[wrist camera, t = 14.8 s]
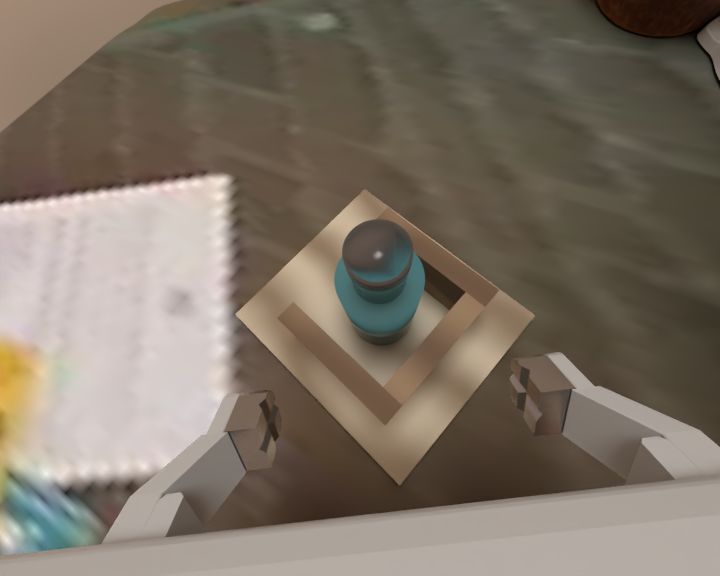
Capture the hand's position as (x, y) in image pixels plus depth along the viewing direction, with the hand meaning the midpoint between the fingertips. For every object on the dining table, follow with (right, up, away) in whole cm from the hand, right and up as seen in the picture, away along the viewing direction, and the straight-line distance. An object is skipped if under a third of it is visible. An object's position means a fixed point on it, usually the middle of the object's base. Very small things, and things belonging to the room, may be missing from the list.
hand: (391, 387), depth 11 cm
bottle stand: (+1, +1, +16) cm, 16 cm away
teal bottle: (+1, +1, +15) cm, 15 cm away
